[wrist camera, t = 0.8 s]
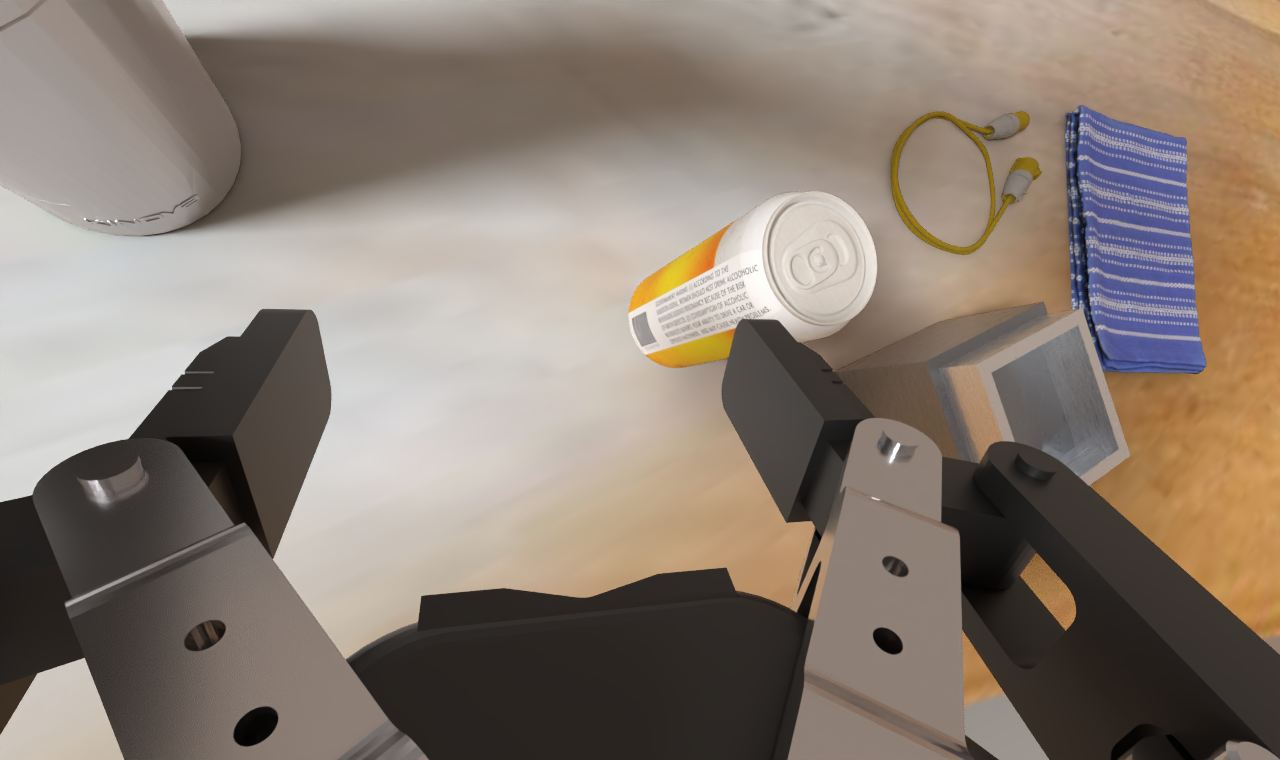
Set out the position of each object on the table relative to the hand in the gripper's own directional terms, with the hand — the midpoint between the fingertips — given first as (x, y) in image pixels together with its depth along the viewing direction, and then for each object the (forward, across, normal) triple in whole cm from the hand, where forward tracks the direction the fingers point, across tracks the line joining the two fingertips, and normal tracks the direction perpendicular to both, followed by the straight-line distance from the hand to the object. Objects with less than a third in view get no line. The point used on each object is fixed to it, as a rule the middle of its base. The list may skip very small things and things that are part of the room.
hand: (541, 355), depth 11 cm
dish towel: (+31, -56, +7) cm, 65 cm away
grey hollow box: (+18, -30, +18) cm, 39 cm away
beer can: (+21, -10, +10) cm, 25 cm away
